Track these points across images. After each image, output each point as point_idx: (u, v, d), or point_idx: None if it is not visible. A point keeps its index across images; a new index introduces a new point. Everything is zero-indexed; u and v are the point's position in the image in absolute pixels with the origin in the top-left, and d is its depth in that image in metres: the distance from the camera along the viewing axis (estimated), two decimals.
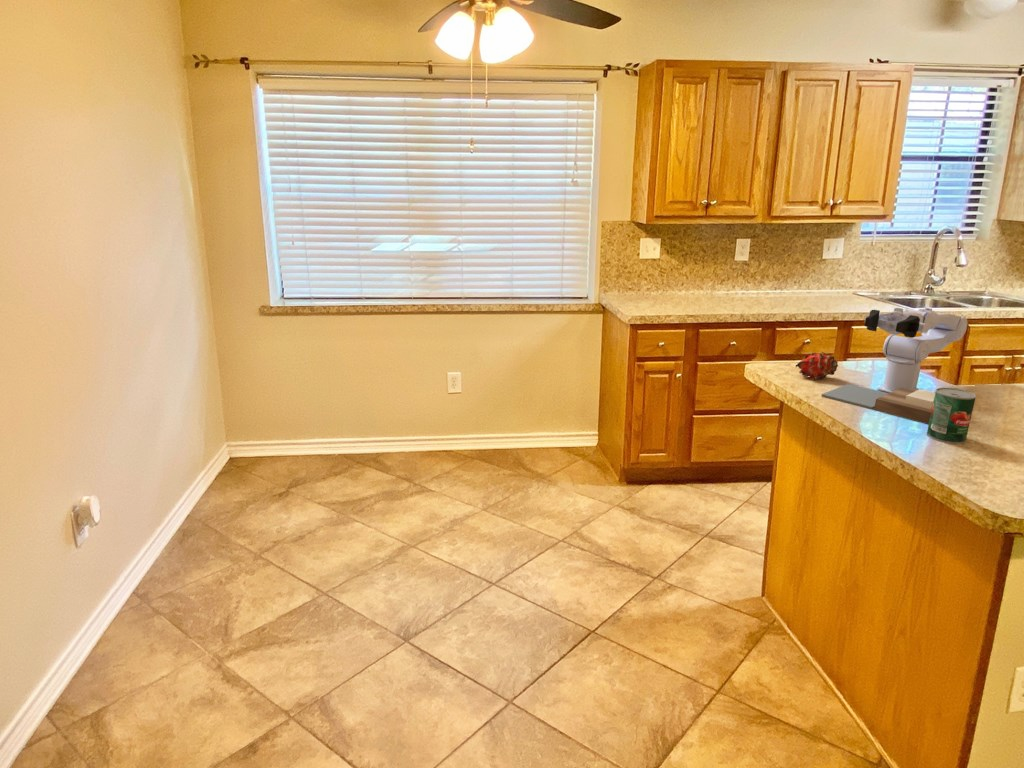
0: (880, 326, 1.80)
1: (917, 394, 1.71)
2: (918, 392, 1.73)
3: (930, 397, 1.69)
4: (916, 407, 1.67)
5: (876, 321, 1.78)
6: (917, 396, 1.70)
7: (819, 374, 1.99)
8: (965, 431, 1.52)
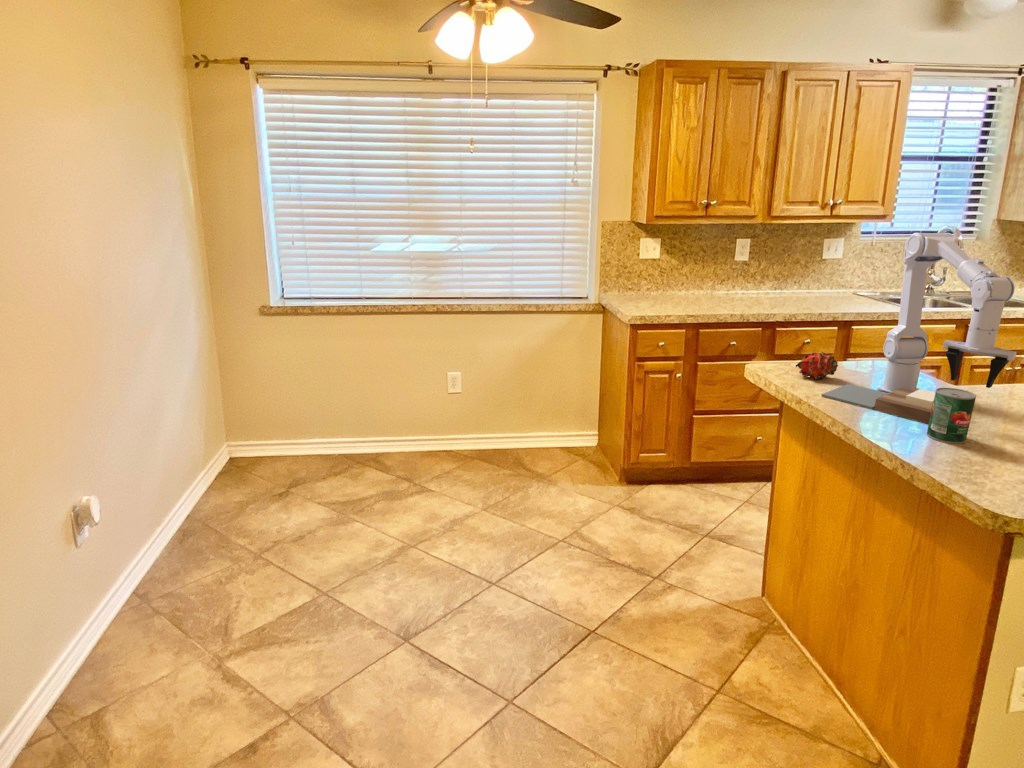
0: None
1: (917, 394, 1.71)
2: (918, 392, 1.73)
3: (930, 397, 1.69)
4: (916, 407, 1.67)
5: (959, 356, 1.63)
6: (917, 396, 1.70)
7: (819, 374, 1.99)
8: (965, 431, 1.52)
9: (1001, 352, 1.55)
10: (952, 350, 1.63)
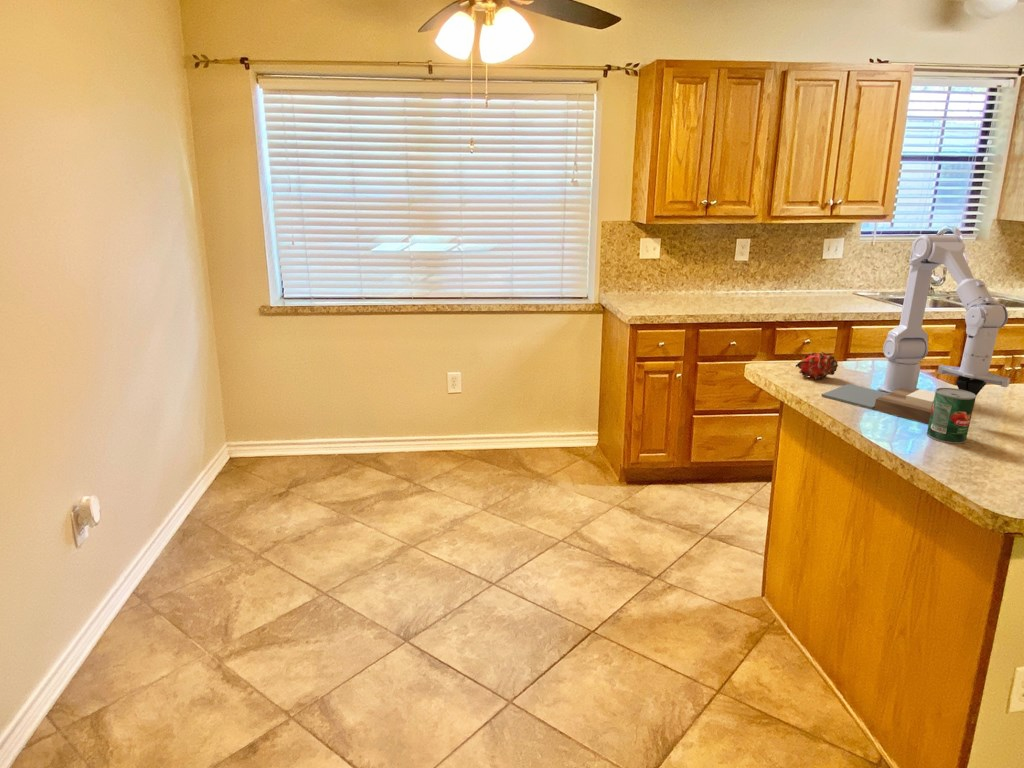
0: None
1: (917, 394, 1.71)
2: (918, 392, 1.73)
3: (930, 397, 1.69)
4: (916, 407, 1.67)
5: None
6: (917, 396, 1.70)
7: (819, 374, 1.99)
8: (965, 431, 1.52)
9: (995, 378, 1.57)
10: (962, 378, 1.63)
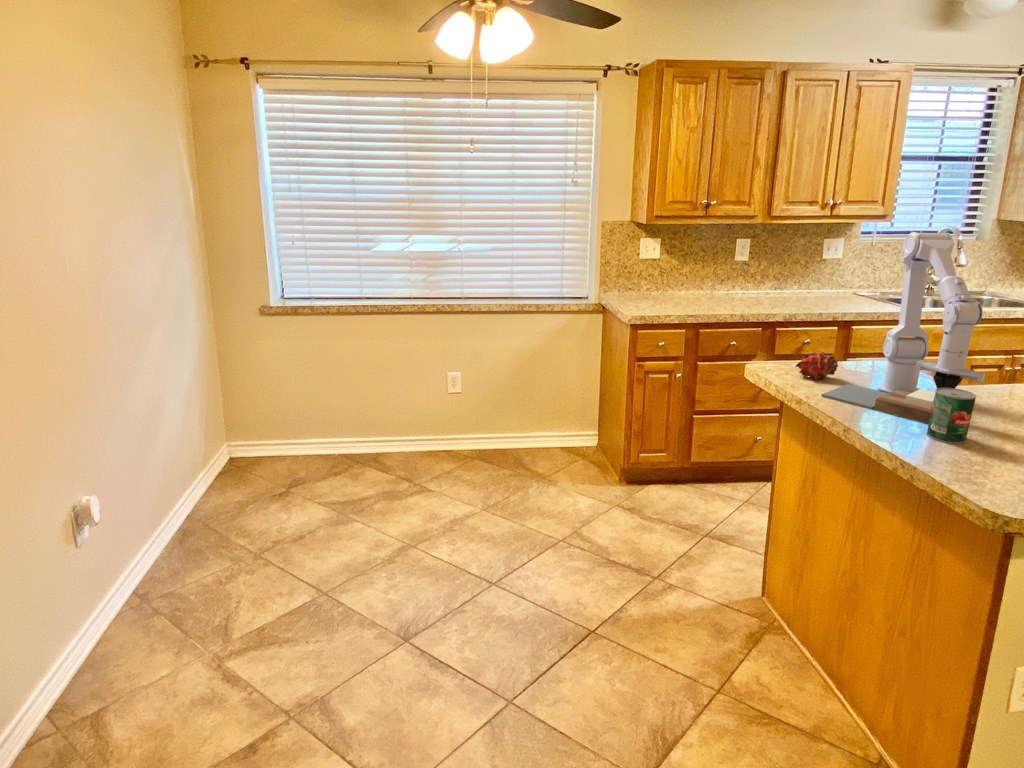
0: None
1: (917, 394, 1.71)
2: (918, 392, 1.73)
3: (930, 397, 1.69)
4: (916, 407, 1.67)
5: None
6: (917, 396, 1.70)
7: (819, 374, 1.99)
8: (965, 431, 1.52)
9: (970, 374, 1.61)
10: (939, 374, 1.66)
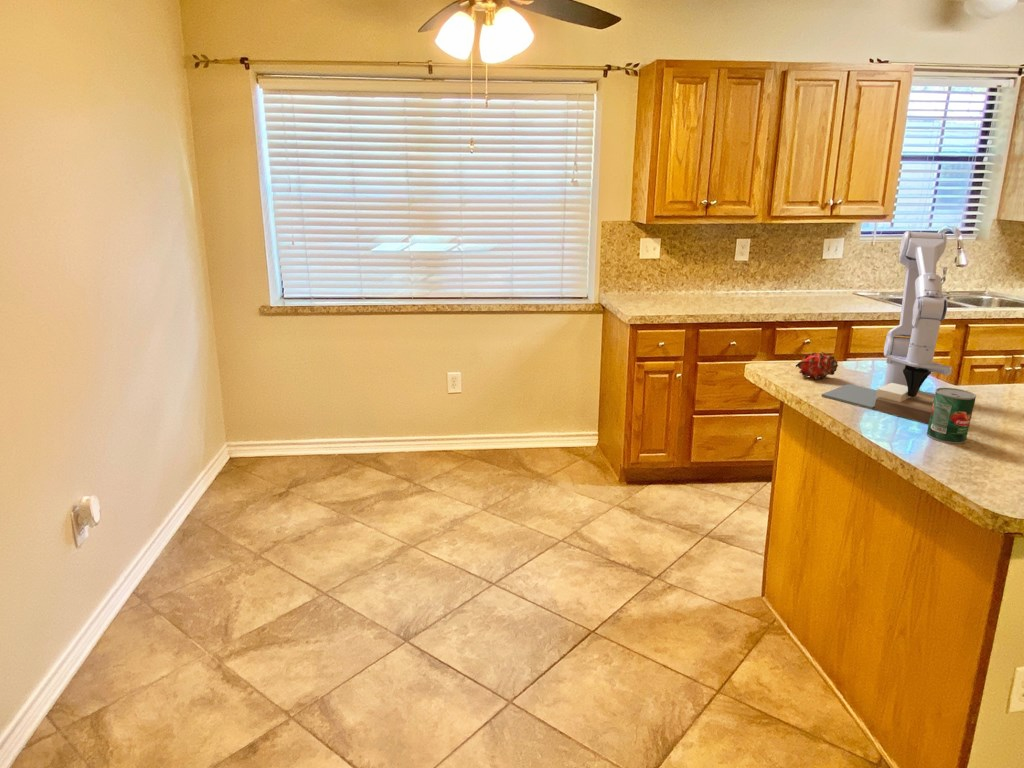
0: None
1: (887, 387, 1.76)
2: (889, 385, 1.78)
3: (901, 390, 1.74)
4: (916, 407, 1.67)
5: None
6: (888, 389, 1.75)
7: (819, 374, 1.99)
8: (965, 431, 1.52)
9: (938, 367, 1.66)
10: (909, 367, 1.72)
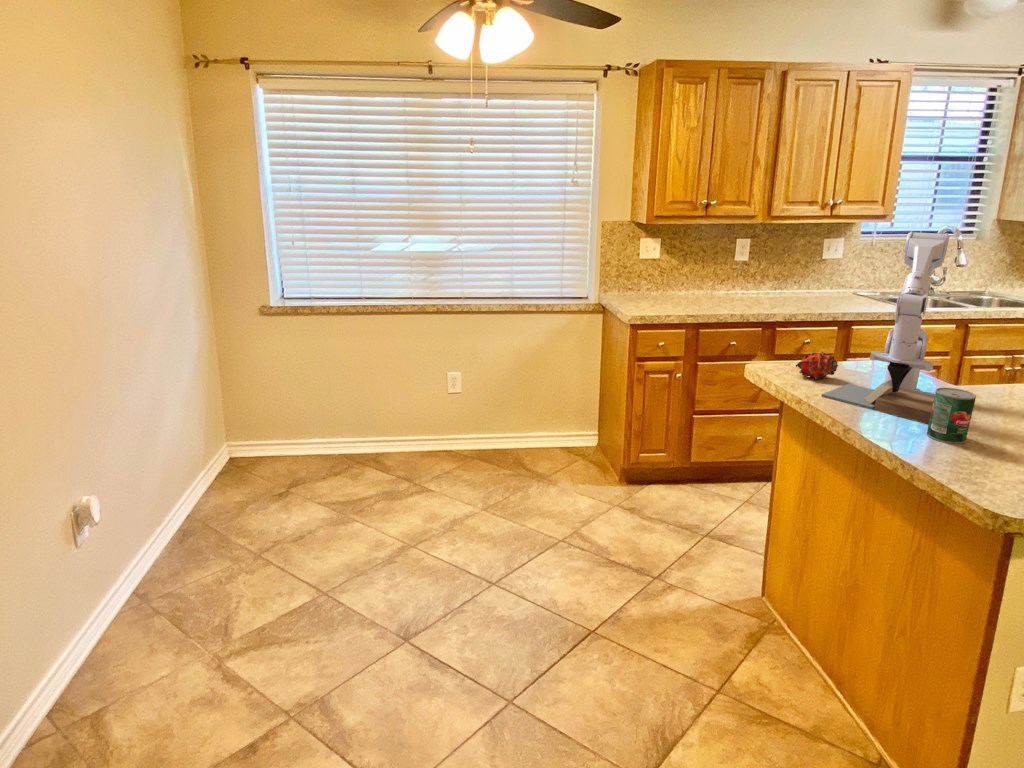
0: None
1: None
2: None
3: None
4: (916, 407, 1.67)
5: None
6: None
7: (819, 374, 1.99)
8: (965, 431, 1.52)
9: (919, 363, 1.69)
10: (893, 364, 1.74)
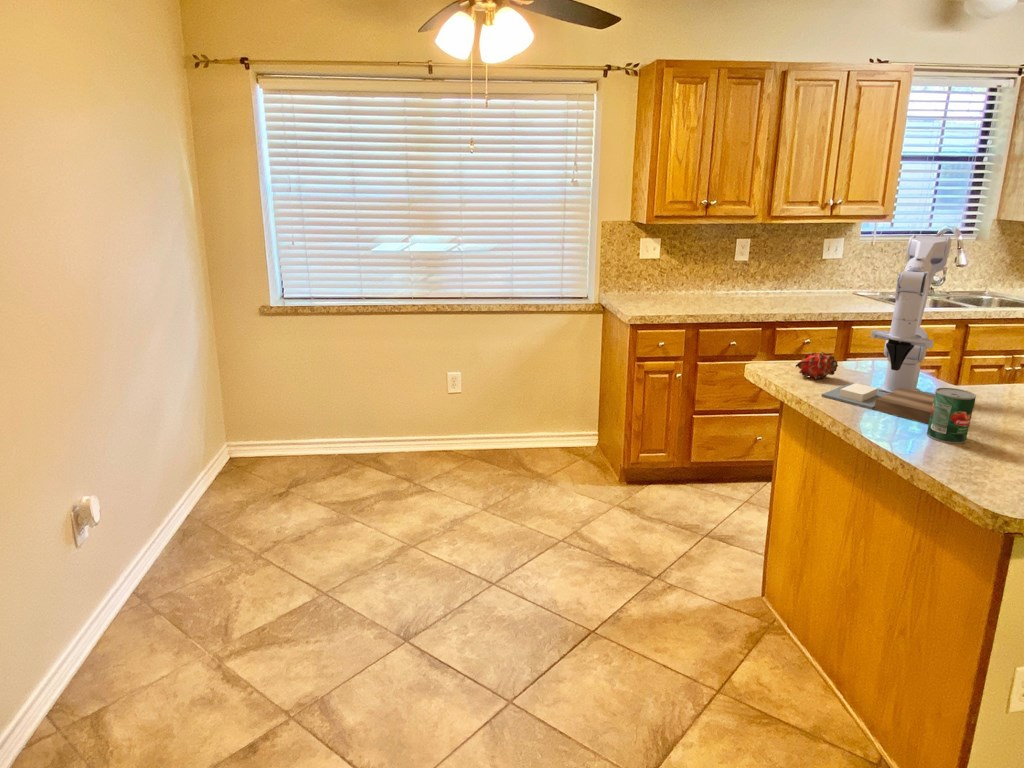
0: None
1: None
2: None
3: None
4: (916, 407, 1.67)
5: None
6: None
7: (819, 374, 1.99)
8: (965, 431, 1.52)
9: (920, 340, 1.69)
10: (892, 341, 1.74)
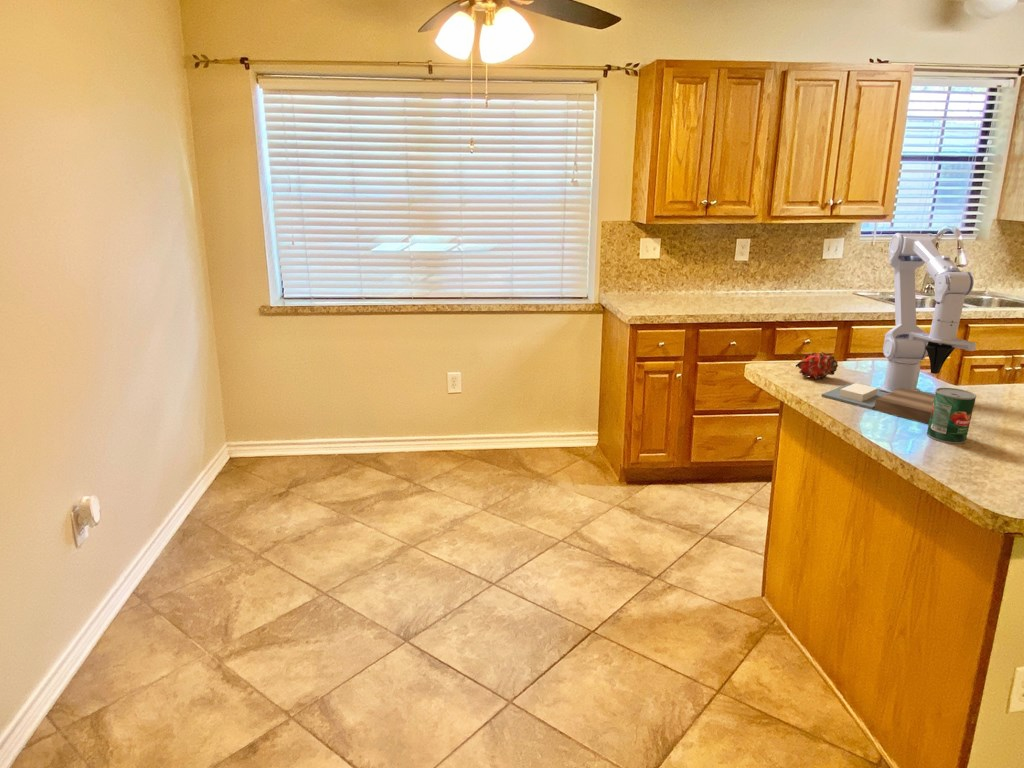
0: None
1: None
2: None
3: None
4: (916, 407, 1.67)
5: None
6: None
7: (819, 374, 1.99)
8: (965, 431, 1.52)
9: (962, 343, 1.64)
10: (932, 344, 1.69)
